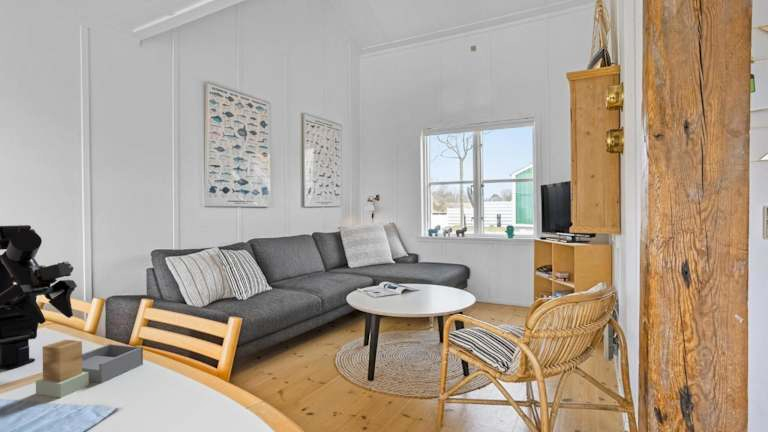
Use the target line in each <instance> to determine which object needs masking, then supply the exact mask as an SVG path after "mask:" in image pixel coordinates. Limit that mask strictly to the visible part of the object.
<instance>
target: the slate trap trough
mask: <svg viewBox="0 0 768 432" xmlns="http://www.w3.org/2000/svg"><path fill="white" fill-rule="evenodd" d="M143 364H144V347H143V346H142V347H141V346H134V345H124V344H123V345H122V344H114V343H113V344H112V343H109V344H106V345H103V346H100V347H97V348H95V349H92V350H89V351H87V352H84V353H83V352H82V372H89V382H93V383H99V384H100V383H101V384H102V383H103V384H104V383H105V382H106V381H109V380H111V379H113V378H116V377H118V376H120V375H122V374H124V373H127V372H128V371H129V372H130V371H131V370H133V369H135V368H138V367H139V366H142V365H143Z"/></svg>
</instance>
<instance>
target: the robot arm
mask: <svg viewBox="0 0 768 432" xmlns="http://www.w3.org/2000/svg"><path fill="white" fill-rule="evenodd" d="M42 241H43V240H42V237H41V236H40V235H39V234H38V233H37V232H36V230H35V229H34V228H32V226H31V225H28V224H26V225H25V224H24V225H23V224H22V225H20V224H19V225H0V251H3V250H5V251H4V252H3V253H2V254H0V369H3V370H12V369H15V368H17V367H20V366H23V365H27V364H29V363H32V362H35V361H36V358H32V357H30V345H29V344H30V343H29V341H30V340H36V338H37V337H38V327H39V324H40V325H43V324H44V323H46V318H45V316H44V313H43V311H42V310H41V307H40V306H39V304H38V302H37V297H38V296H44V297H45V299H47V300H48V303H49V304H50V305H52V307H54V309H56V310H57V311H58V312H60V313H61V314H63V315H64V316H65V317H67V318H68V319H70V318H72V317H73V316H74V313H73V307H72V302H71V295H72V293H73V292H74V291H75V289H76V288H78V286H77V283H76V282H75V281H74V279H73V280H72V279H61V280H58V279H60V278H64V277H71V275H72V273H73V271H74V266H73V265H72V264H71V263H70V262H69V261H62V262H58V263H56V264H51V265H47V266H46V265H40V264H38V262H37V261H36V259H35V257H36V256H37V254H38V251H39V250H40V248H41V245H42ZM57 280H58V281H57ZM14 283H15V284H14ZM51 284H52V285H51Z"/></svg>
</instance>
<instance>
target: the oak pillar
mask: <svg viewBox="0 0 768 432" xmlns="http://www.w3.org/2000/svg"><path fill="white" fill-rule="evenodd" d="M82 354H83V341H82V340H73V339H63V340H59V341H56V342H53V343H49V344H47V345H43V346H42V378H43V380H48V381H55V382H62V381H65V380H67V379H69V378H72V377H74V376H77V375H79V374H82Z"/></svg>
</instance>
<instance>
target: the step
mask: <svg viewBox="0 0 768 432" xmlns="http://www.w3.org/2000/svg"><path fill="white" fill-rule="evenodd" d="M89 382H90V381H89V372H82V374H79V375H77V376H74V377H72V378H69V379H67V380H65V381H62V382H55V381H48V380H43V377H42V378H39V379H37V380H35V394H36V395H39V396H46V397H54V398H60V399H61V398H63V397H66V396H68V395H70V394H72V393H74V392H76V391H79V390H81V389H83V388H86V387H88V386H89V385H90V384H89Z"/></svg>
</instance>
